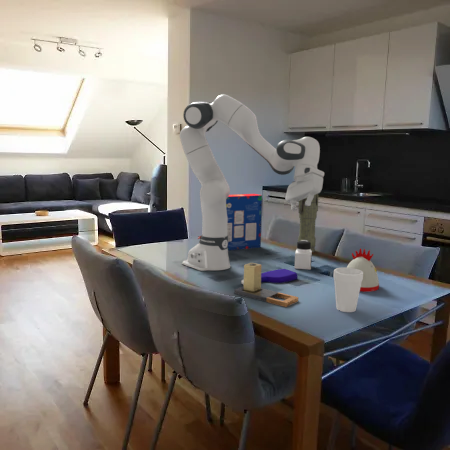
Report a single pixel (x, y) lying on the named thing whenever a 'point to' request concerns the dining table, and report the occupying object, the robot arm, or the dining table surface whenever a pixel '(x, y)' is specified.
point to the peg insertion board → (269, 296)
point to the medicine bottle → (303, 255)
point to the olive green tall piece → (308, 221)
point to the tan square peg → (252, 277)
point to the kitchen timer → (365, 270)
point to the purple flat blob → (278, 276)
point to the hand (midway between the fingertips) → (300, 208)
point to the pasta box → (244, 221)
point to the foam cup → (347, 288)
